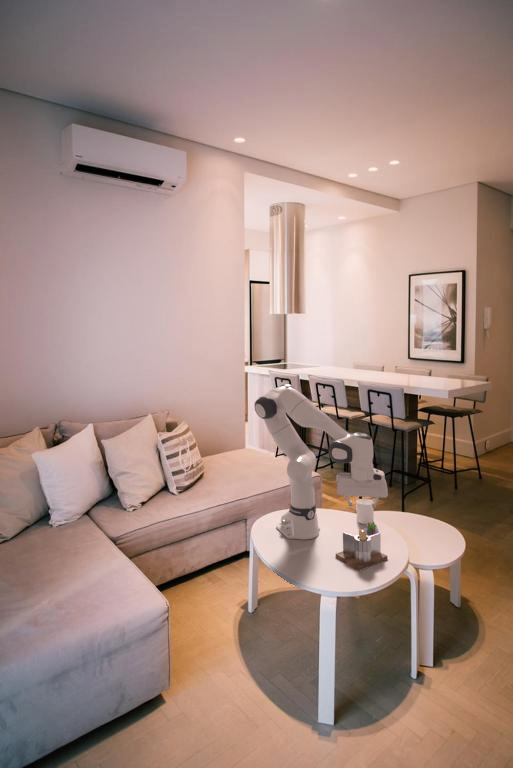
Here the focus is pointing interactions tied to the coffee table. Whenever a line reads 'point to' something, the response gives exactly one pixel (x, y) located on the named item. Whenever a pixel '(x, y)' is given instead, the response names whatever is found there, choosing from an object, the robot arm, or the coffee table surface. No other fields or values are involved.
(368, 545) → the grey socket block
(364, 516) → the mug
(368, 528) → the geometric puzzle
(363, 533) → the pin
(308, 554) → the coffee table surface
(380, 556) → the base board
